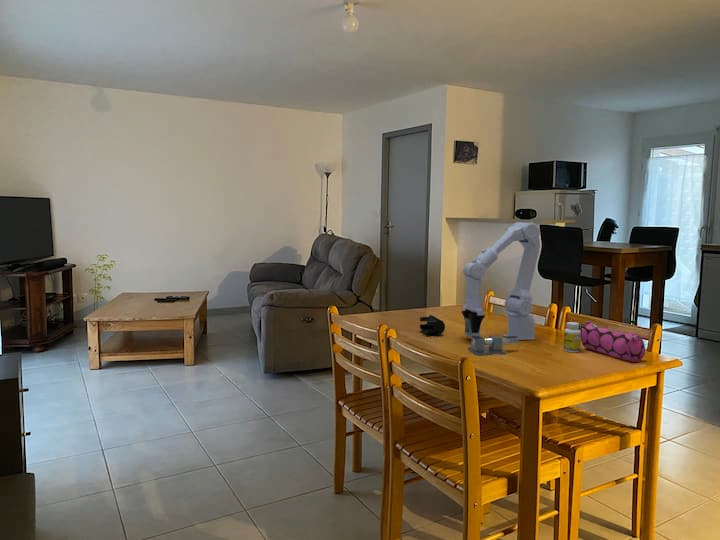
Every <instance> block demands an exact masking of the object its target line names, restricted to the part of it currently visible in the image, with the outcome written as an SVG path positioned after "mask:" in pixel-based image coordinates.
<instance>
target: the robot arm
mask: <svg viewBox="0 0 720 540" xmlns="http://www.w3.org/2000/svg"><path fill="white" fill-rule="evenodd" d="M540 234H541V229H540V228H539V227H538V225H537V224H536V223H535V222H521V221H517V222H514V223H513V224H512V225H511V226H509V227H508V228H507V231H506V232H505V233H504V234H503V235H502V236H501V237H500V238H499V239H498V240H497V241H496V242H495V243H494V244H493V245H492V246H491V247H486V248H483V249H481V252H480V253H479V255H477V256H476V257H474V258H473V259H472V261H471V262H468V263H466V264H465V266H464V268H463V269H462V272H463V275H464V276H465V303H463V304H462V305H463V306H462V307H461V309H463V310H461V314H462V316H463V319H464V320H465V318H466V317H470V320H471V326H472V333H478V332H479V329H480V330H481V325H482V322H483V321H484V319H485V316H486V315H485V314H484V309H483V307H482V278H483V277H484V276H485V274H486V271H487V270H488V269H489V268H490V267H491V266H492V265H493V264H494V263H495V262H496V261H497V260H498V255H499V254H500V253H501V252H503V251H504V250H505V249H506V248H507V247H509V246H510V245H511V244H512V243H514V242H519V243H520V244H521V245H522V247H523V252H522V255H521V256H522V257H521V262H520V266H519V268H518V273H517V277H516V280H515V281H516V282H515V285H514V288H513V289H512V290H511V291H509V294H508V295H507V296H508V297H507V298H506V300H505V301H504V307H505V309H506V311H507V314H508V315H507V334H505V333H503V335H502V337H506V336H517V337H518V339H519V341H523V340H525V341H526V340H527V341H529V340H531V341H532V340H536V338H535V328H536V327H535V323H536V321H535V319H534V316H533V315H532V314H530V313H531V312H532V310H533V305H532V301H533V296H532V295H531V292H530V290H531V286H532V282H533V278H534V274H535V269H536V265H537V262H538V258H539V255H540V254H539V253H540V251H541V250H540V249H541V241H540V240H541V239H540Z"/></svg>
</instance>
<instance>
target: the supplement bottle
mask: <svg viewBox="0 0 720 540" xmlns="http://www.w3.org/2000/svg"><path fill="white" fill-rule="evenodd" d="M579 328H580V323H579V322H576V321H575V322H574V321H569V322H568V321H567V322H566V328H565V329H564V332H563V351H565V352H567V353H579V352H580V351H581V343H582V342H581V332H582V331H581V329H579Z"/></svg>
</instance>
